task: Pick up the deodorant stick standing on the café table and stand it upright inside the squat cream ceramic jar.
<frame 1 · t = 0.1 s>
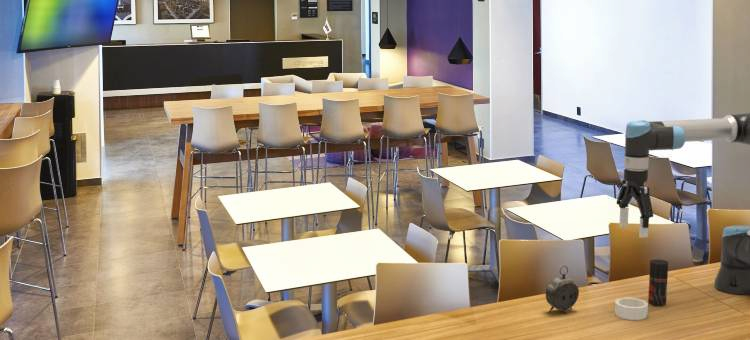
hand: (633, 231, 291), 28 cm above the table, fingers open, 13 cm apart
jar: (631, 314, 294), on the table
alarm clock: (562, 312, 297), on the table
deodorant: (657, 304, 304), on the table
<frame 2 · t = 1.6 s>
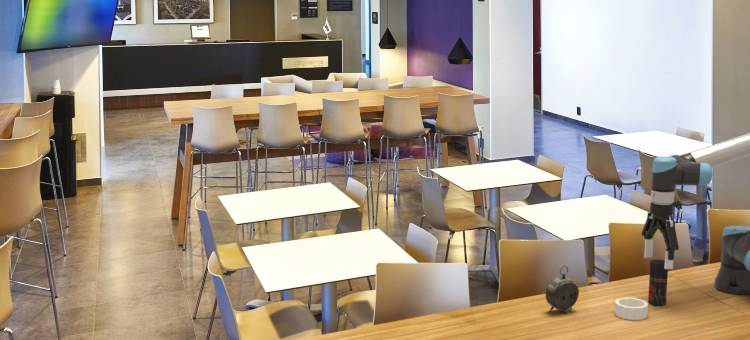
hand: (658, 263, 301), 15 cm above the table, fingers open, 13 cm apart
nothing on the table moved.
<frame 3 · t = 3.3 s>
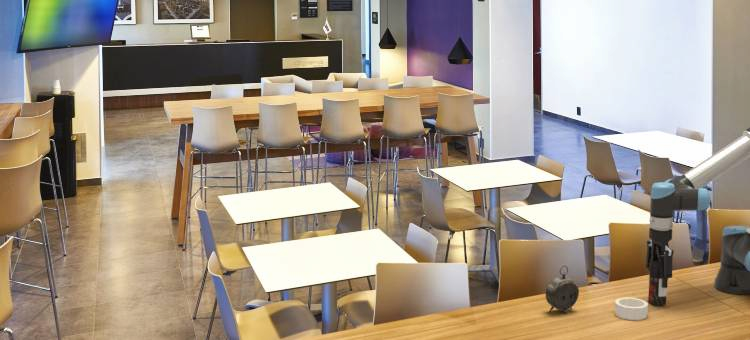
hand: (657, 292, 303), 4 cm above the table, fingers closed on deodorant, 6 cm apart
deodorant: (657, 304, 304), on the table, touching gripper
everything else where it was.
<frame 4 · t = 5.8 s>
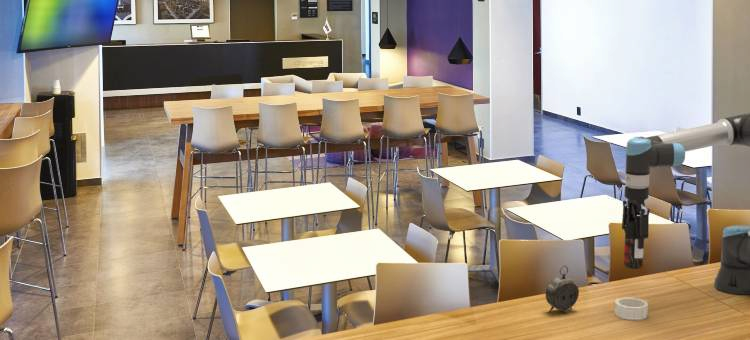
hand: (633, 254, 290), 21 cm above the table, fingers closed on deodorant, 6 cm apart
deodorant: (633, 266, 291), point 17 cm above the table, touching gripper
everything else where it was.
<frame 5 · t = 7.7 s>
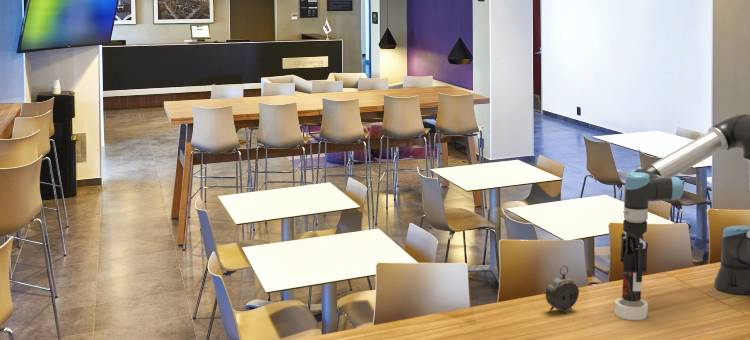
hand: (632, 287, 292), 10 cm above the table, fingers closed on deodorant, 6 cm apart
deodorant: (631, 299, 293), point 6 cm above the table, touching gripper
everything else where it was.
when the fingers open (6 cm above the table, at t = 8.8 s): deodorant drops 2 cm, resting on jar.
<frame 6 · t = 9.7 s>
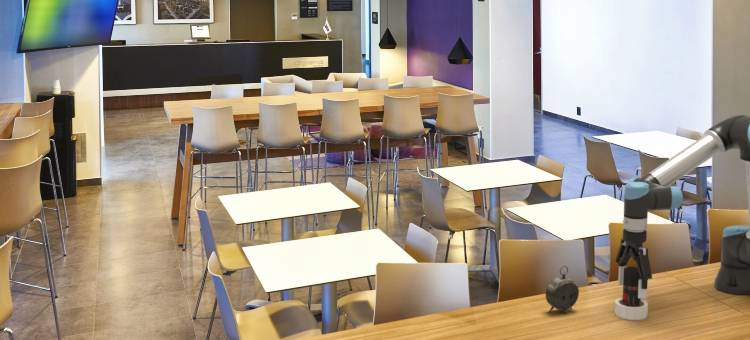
hand: (632, 291, 292), 8 cm above the table, fingers open, 13 cm apart
deodorant: (631, 313, 294), point 1 cm above the table, touching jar
everything else where it was.
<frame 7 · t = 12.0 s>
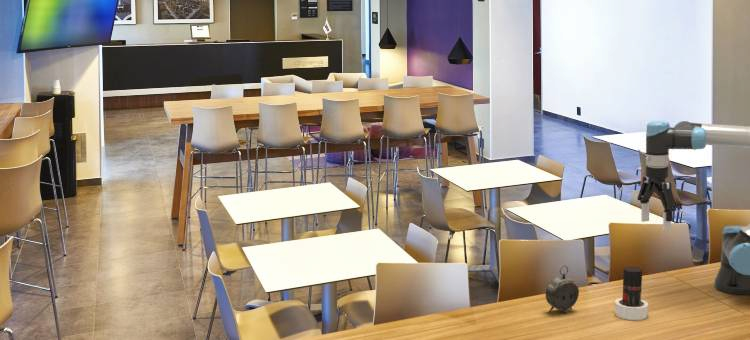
hand: (655, 225, 309), 25 cm above the table, fingers open, 13 cm apart
nothing on the table moved.
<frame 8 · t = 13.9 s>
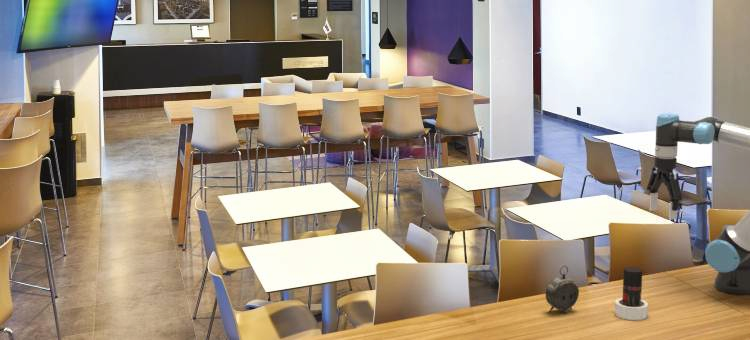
hand: (662, 214, 319), 27 cm above the table, fingers open, 13 cm apart
nothing on the table moved.
at the end: deodorant 0.0 cm from the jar (horizontally); deodorant tilted 0°; the gripper is holding nothing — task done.
